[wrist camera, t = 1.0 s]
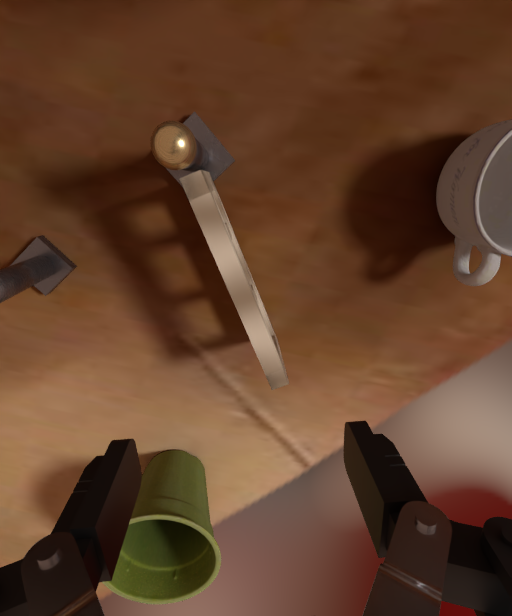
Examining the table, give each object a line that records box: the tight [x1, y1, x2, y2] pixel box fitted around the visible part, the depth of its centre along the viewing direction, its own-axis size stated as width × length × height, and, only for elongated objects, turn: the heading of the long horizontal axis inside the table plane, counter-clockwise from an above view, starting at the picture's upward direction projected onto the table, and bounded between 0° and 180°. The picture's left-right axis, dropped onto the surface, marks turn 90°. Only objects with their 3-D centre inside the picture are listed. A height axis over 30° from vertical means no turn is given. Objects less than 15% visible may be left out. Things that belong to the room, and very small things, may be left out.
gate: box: [180, 170, 289, 390], centre depth 30 cm, size 17×2×8 cm, turn 21°
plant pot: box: [102, 450, 221, 604], centre depth 38 cm, size 12×12×11 cm
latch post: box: [0, 235, 77, 303], centre depth 28 cm, size 4×4×12 cm
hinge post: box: [151, 112, 235, 187], centre depth 25 cm, size 5×5×13 cm
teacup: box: [436, 119, 512, 286], centre depth 31 cm, size 14×11×8 cm
